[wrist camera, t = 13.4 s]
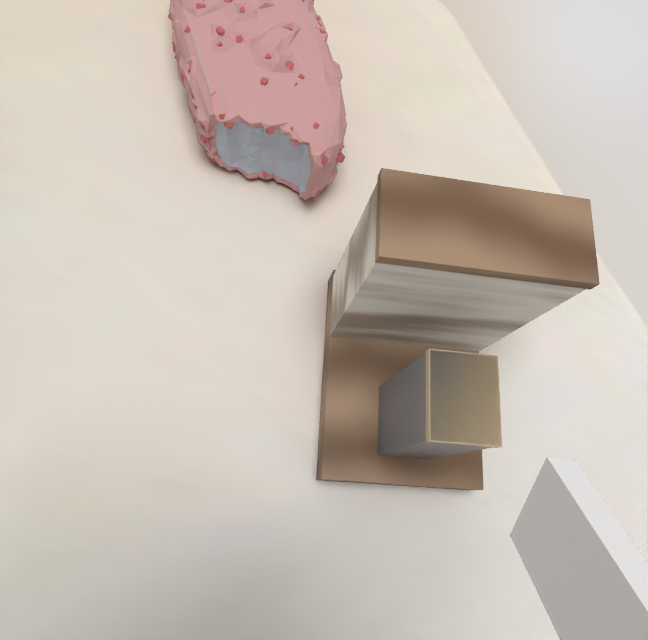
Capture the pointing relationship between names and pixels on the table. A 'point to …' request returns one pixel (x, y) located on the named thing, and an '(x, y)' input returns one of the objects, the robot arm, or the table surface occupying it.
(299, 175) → the ice cream bar
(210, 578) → the table surface
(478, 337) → the stand
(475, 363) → the case
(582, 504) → the robot arm
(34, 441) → the table surface
